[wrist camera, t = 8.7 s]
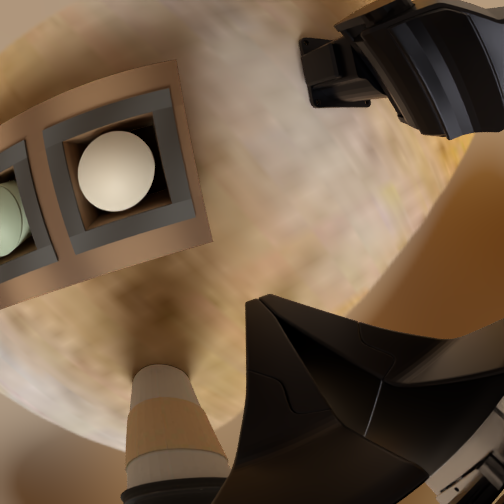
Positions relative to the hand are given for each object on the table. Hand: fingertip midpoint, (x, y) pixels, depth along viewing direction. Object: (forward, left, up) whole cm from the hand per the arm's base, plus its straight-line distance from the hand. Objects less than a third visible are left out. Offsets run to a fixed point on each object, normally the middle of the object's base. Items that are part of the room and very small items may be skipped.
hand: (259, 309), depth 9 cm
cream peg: (+4, -5, -13) cm, 14 cm away
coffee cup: (+8, +15, -13) cm, 22 cm away
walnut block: (+8, -5, -13) cm, 16 cm away
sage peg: (+12, -5, -13) cm, 18 cm away
